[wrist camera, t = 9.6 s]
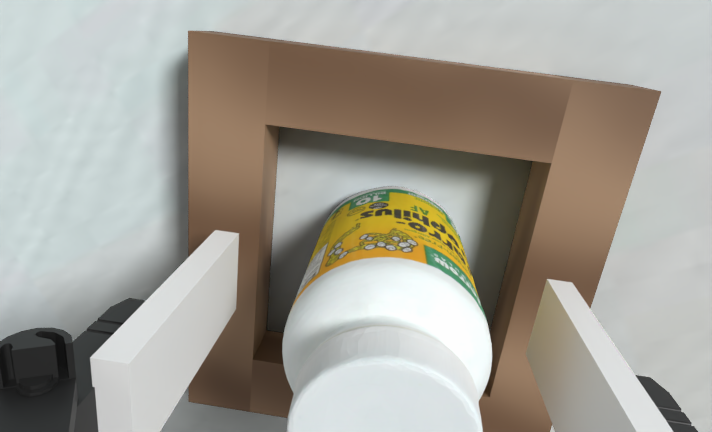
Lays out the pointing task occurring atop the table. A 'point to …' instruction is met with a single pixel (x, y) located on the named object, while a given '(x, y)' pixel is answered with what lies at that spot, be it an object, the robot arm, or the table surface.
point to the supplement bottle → (387, 323)
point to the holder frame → (411, 126)
